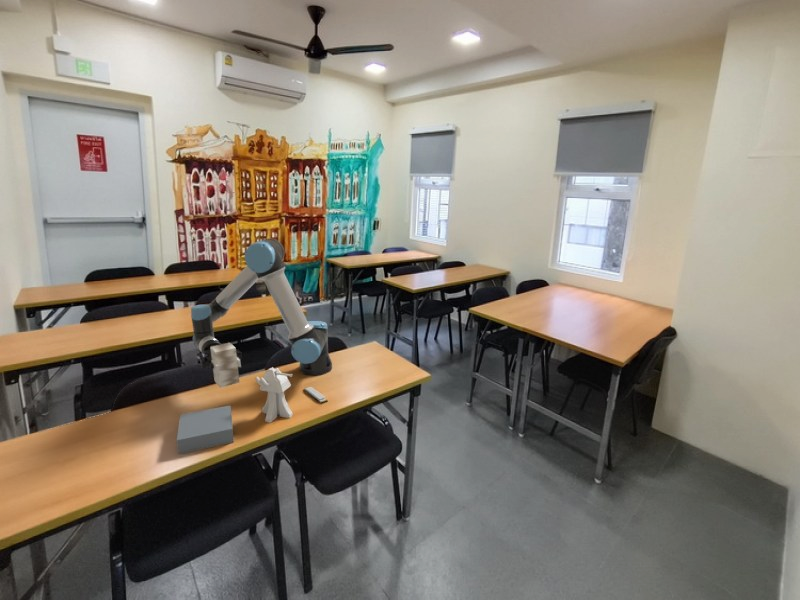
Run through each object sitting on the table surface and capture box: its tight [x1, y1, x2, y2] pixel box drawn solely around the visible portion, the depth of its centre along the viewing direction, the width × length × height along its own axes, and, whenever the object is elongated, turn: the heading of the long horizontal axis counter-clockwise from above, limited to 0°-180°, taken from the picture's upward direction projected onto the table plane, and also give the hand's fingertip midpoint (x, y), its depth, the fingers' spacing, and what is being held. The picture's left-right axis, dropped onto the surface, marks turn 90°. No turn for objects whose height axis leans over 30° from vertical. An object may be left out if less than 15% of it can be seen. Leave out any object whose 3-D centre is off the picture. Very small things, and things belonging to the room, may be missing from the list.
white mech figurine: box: [254, 366, 294, 423], centre depth 144 cm, size 12×13×18 cm
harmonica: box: [303, 386, 328, 405], centre depth 160 cm, size 15×3×2 cm, turn 41°
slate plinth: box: [176, 405, 235, 455], centre depth 132 cm, size 16×16×5 cm
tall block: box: [210, 342, 240, 389], centre depth 146 cm, size 7×7×14 cm
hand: (228, 366), depth 142 cm, fingers closed on tall block, 7 cm apart
